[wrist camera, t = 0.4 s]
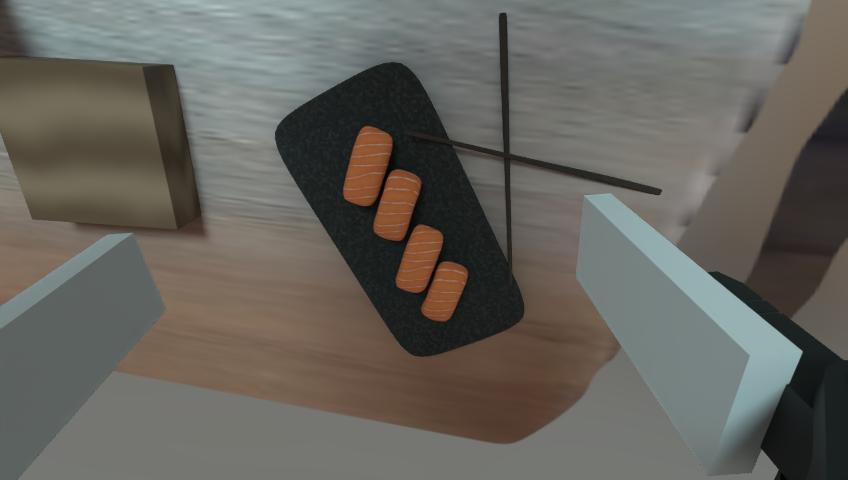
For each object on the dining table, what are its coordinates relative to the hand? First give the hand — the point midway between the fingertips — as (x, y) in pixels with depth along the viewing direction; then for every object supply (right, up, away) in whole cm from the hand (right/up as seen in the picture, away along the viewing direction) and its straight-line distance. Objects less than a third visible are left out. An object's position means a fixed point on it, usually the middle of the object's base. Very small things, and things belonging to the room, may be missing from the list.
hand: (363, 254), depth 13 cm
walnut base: (-27, +10, +27) cm, 40 cm away
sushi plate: (+7, +5, +28) cm, 29 cm away
